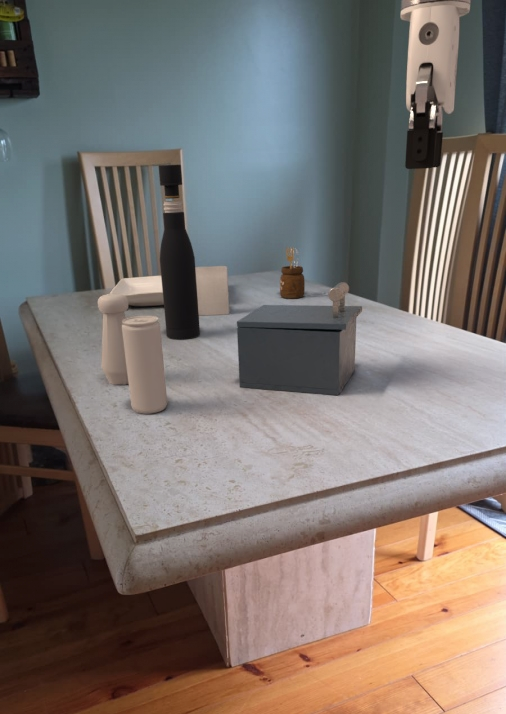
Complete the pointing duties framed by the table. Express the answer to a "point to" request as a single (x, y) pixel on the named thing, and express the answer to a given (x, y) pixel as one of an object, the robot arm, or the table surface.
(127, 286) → the square plate
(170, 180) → the black water bottle
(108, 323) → the salt shaker
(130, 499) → the table surface
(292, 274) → the utensil holder
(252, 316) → the bin lid
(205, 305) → the beige rectangular box
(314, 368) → the bin
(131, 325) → the beverage can
